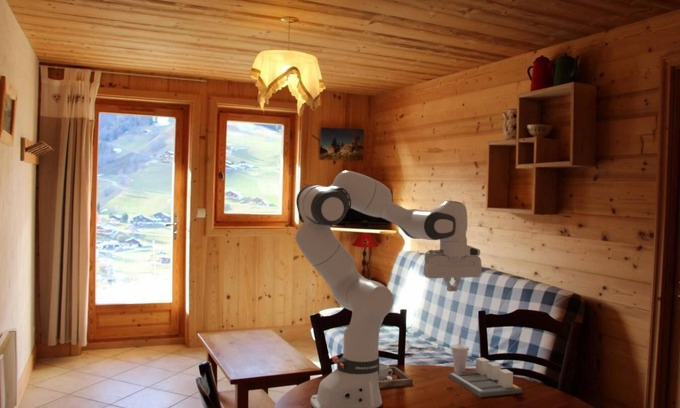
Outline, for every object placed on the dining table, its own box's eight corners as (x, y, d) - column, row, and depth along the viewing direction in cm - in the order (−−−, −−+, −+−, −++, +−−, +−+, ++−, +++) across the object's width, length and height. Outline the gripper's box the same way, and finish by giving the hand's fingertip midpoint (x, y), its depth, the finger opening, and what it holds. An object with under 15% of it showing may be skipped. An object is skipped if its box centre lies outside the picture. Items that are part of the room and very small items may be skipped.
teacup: (362, 382, 192) (362, 368, 192) (367, 373, 202) (367, 361, 202) (390, 385, 190) (390, 371, 190) (394, 376, 200) (394, 363, 200)
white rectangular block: (493, 380, 191) (493, 366, 191) (486, 376, 195) (487, 362, 195) (500, 379, 192) (500, 365, 192) (493, 376, 196) (494, 362, 196)
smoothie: (448, 373, 204) (449, 335, 204) (453, 368, 210) (454, 332, 210) (465, 376, 201) (466, 338, 201) (470, 371, 207) (471, 334, 207)
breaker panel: (480, 397, 180) (480, 377, 180) (448, 377, 200) (448, 359, 200) (521, 392, 185) (522, 373, 185) (486, 373, 205) (486, 356, 205)
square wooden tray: (372, 388, 186) (372, 382, 186) (357, 374, 200) (357, 369, 200) (412, 384, 190) (412, 379, 190) (394, 371, 204) (395, 366, 204)
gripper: (429, 250, 176) (428, 293, 176) (484, 250, 183) (483, 291, 183) (420, 248, 182) (419, 290, 182) (474, 248, 189) (473, 288, 189)
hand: (452, 291), depth 183 cm, fingers closed
